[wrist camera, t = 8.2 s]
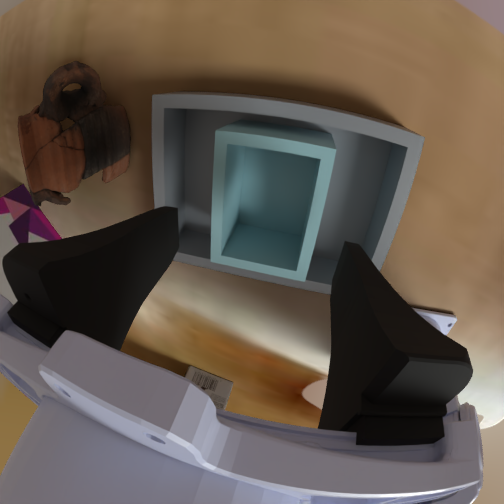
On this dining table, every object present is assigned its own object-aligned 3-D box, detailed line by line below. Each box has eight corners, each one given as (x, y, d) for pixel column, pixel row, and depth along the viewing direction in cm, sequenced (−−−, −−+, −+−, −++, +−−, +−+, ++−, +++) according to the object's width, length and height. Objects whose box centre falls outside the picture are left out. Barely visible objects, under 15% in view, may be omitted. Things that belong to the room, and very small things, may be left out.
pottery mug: (130, 203, 22) (44, 240, 17) (95, 142, 24) (24, 167, 19) (153, 73, 13) (14, 103, 8) (109, 35, 15) (14, 54, 10)
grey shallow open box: (361, 270, 20) (365, 301, 17) (179, 232, 22) (159, 257, 19) (405, 127, 14) (424, 137, 11) (180, 91, 16) (152, 94, 13)
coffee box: (220, 404, 38) (189, 495, 25) (181, 389, 38) (143, 477, 25) (235, 382, 33) (198, 495, 20) (188, 363, 33) (140, 473, 20)
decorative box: (23, 180, 23) (-72, 250, 11) (119, 301, 30) (48, 403, 17) (3, 248, 32) (-53, 303, 20) (72, 331, 39) (26, 396, 26)
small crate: (309, 240, 19) (304, 281, 16) (231, 225, 20) (210, 261, 16) (331, 134, 15) (336, 149, 11) (240, 119, 16) (215, 130, 12)
